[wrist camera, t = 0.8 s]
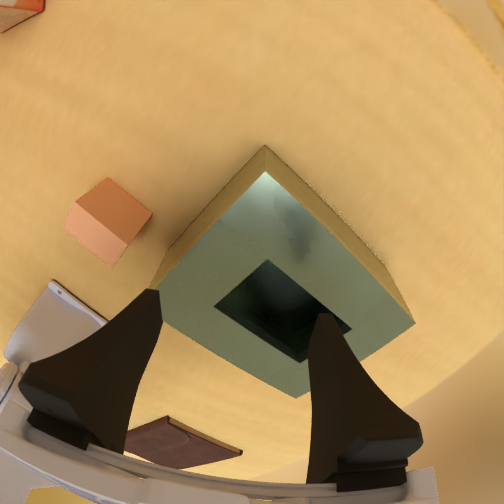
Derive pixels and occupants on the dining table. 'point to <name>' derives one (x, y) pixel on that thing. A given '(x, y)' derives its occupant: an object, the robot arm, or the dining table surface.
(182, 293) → the green tissue box
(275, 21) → the dining table surface
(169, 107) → the dining table surface
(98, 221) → the orange rectangular block
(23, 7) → the cracker box
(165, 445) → the notebook
